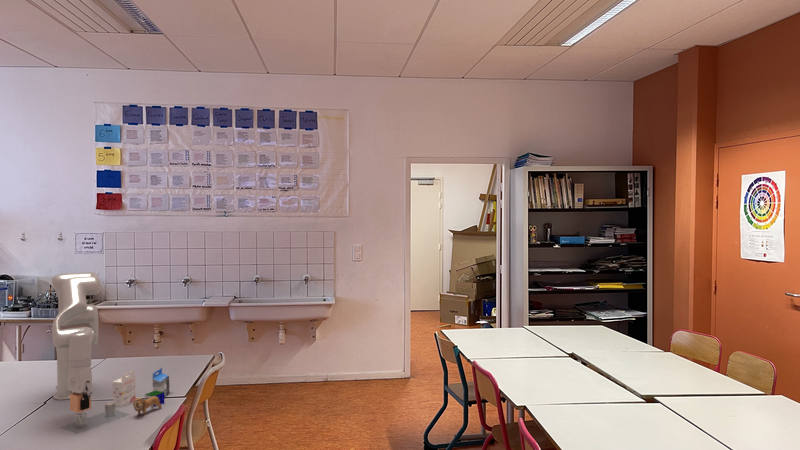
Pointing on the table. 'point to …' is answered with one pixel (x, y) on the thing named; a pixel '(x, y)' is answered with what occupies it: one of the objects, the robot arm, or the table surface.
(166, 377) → the label tape box
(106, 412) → the post
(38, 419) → the table surface
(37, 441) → the table surface
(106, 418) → the board
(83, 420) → the post
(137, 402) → the lion figurine
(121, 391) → the ink cartridge box
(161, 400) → the puzzle toy
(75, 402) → the orange wooden cube
